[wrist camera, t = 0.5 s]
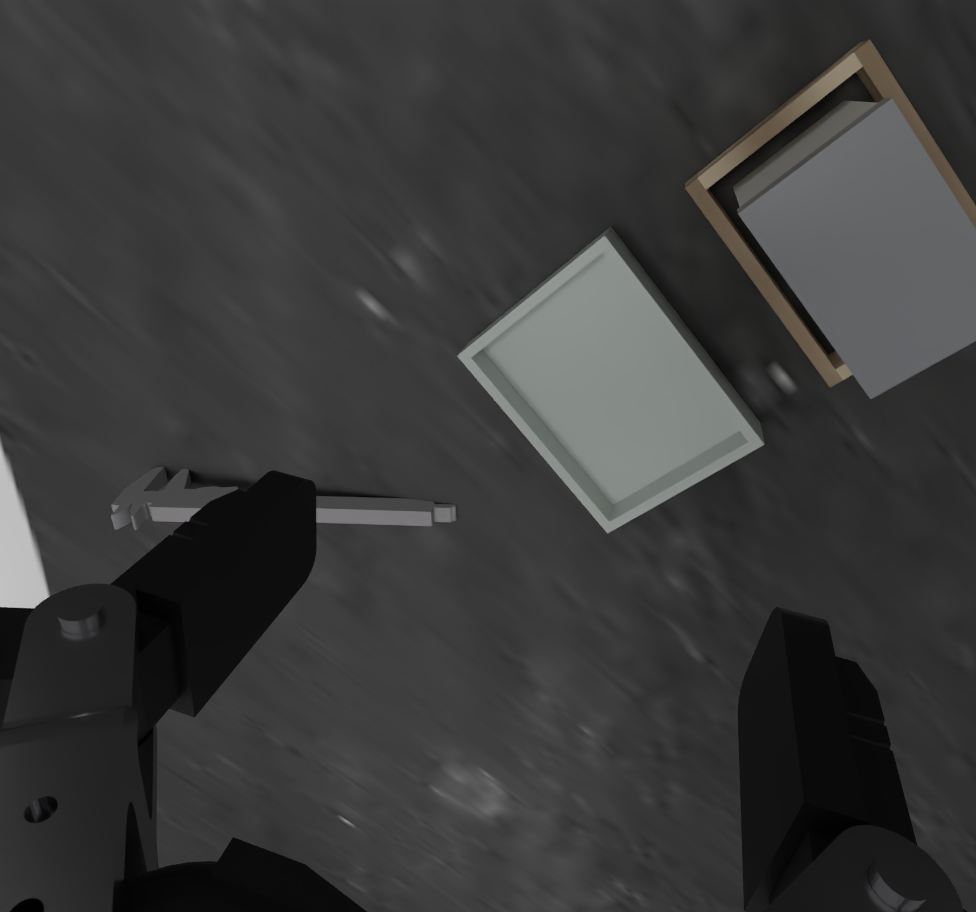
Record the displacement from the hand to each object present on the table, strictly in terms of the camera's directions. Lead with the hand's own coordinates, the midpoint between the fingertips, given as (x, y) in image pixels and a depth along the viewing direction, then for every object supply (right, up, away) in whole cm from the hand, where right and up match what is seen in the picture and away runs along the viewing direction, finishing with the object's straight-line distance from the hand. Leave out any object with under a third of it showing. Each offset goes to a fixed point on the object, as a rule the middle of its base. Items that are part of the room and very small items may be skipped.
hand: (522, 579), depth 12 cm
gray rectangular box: (+14, +12, +18) cm, 26 cm away
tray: (+6, +6, +24) cm, 25 cm away
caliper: (-12, 0, +32) cm, 35 cm away
